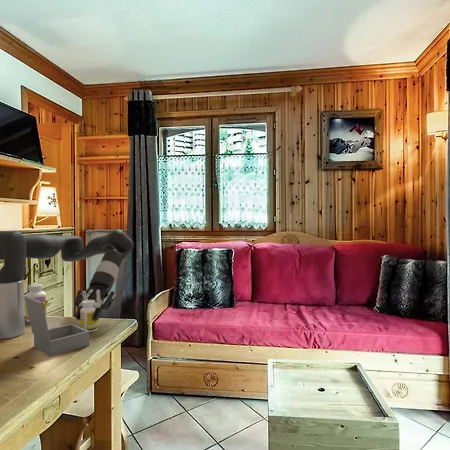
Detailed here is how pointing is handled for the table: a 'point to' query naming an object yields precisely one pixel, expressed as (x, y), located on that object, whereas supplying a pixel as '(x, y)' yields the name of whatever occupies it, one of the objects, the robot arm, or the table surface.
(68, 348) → the mailer box
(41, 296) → the supplement bottle
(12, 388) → the table surface
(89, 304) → the supplement bottle
